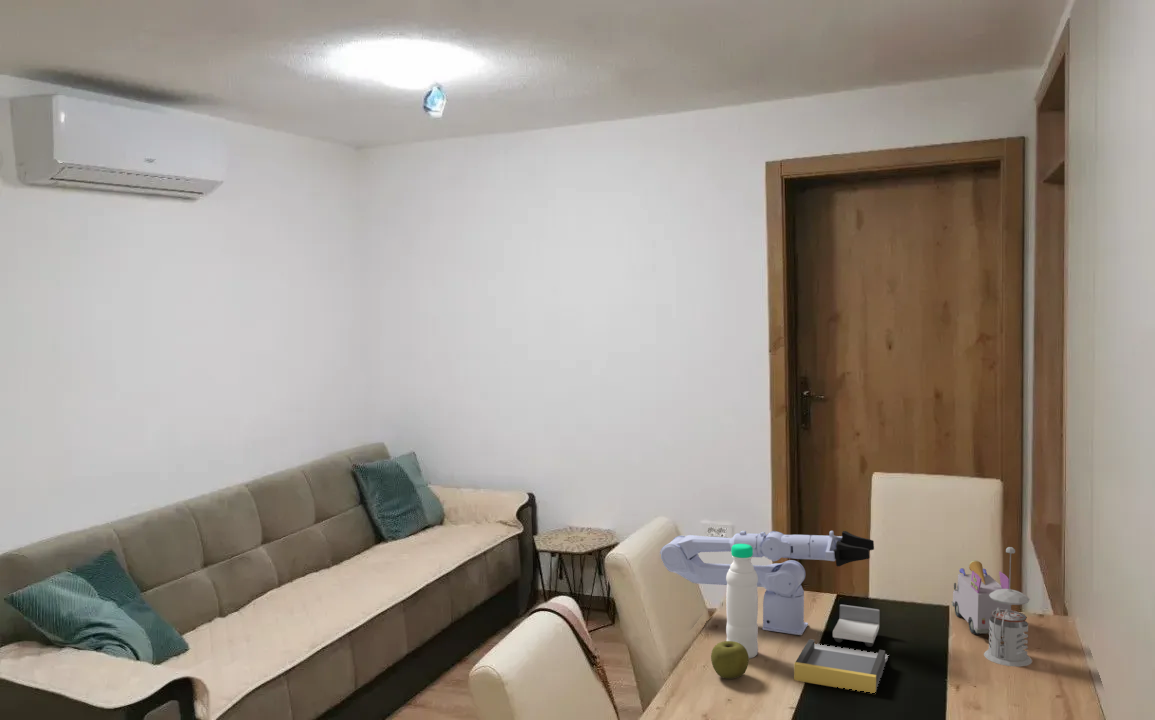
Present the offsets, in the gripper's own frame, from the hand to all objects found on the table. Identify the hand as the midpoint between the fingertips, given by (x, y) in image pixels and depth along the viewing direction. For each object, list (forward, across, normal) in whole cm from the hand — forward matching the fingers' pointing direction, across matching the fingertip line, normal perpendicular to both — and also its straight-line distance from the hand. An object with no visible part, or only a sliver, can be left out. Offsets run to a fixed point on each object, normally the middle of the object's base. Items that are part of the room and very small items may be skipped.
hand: (871, 549), depth 215 cm
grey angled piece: (-5, -1, +21) cm, 22 cm away
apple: (-26, -33, +20) cm, 46 cm away
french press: (+27, +1, +24) cm, 36 cm away
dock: (-5, -18, +21) cm, 28 cm away
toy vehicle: (+21, +20, +24) cm, 37 cm away
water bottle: (-27, -20, +20) cm, 39 cm away
